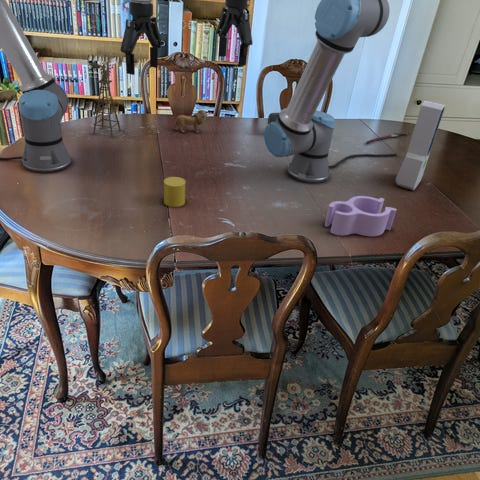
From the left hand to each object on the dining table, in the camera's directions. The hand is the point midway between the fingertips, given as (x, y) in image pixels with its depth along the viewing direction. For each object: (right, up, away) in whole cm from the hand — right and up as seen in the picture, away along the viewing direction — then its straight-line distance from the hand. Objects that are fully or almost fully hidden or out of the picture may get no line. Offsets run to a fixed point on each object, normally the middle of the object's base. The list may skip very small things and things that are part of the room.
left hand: (142, 70), depth 161 cm
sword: (+101, -12, +53) cm, 115 cm away
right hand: (+31, +6, +7) cm, 32 cm away
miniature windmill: (-20, -15, +28) cm, 38 cm away
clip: (+69, -54, -18) cm, 90 cm away
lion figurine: (+12, -12, +38) cm, 42 cm away
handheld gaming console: (+56, -12, +45) cm, 73 cm away
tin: (+13, -46, -15) cm, 51 cm away
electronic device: (+96, -37, +13) cm, 104 cm away
